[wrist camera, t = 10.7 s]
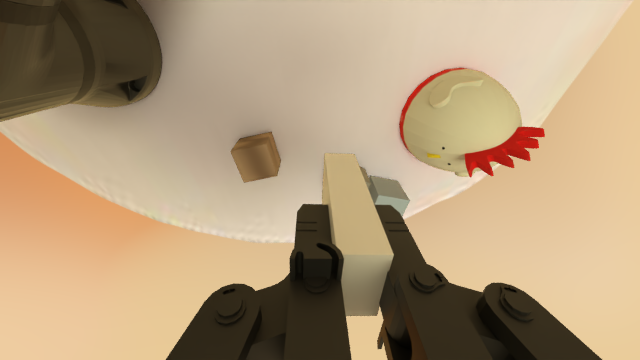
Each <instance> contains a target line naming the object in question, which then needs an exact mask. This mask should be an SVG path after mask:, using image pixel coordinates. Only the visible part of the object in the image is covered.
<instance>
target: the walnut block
mask: <svg viewBox="0 0 640 360" xmlns="http://www.w3.org/2000/svg"><path fill="white" fill-rule="evenodd" d="M231 154H232V156H233V158H234V161H235V163H236V165H237V168H238V170H239V172H240V174H241V177H242V179H243V181H244V182H249V181H254V180H259V179H264V178H269V177H274V176H277V175H278V171H279V167H280V163H281V160H280V157H279V154H278V151H277V148H276V145H275V141H274V138H273V135H272V132H268V133H264V134H259V135H255V136H250V137H246V138H241V139H239V141H238V142H237V143H236V145H235V146H234V147H233V149H232V150H231Z"/></svg>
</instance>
